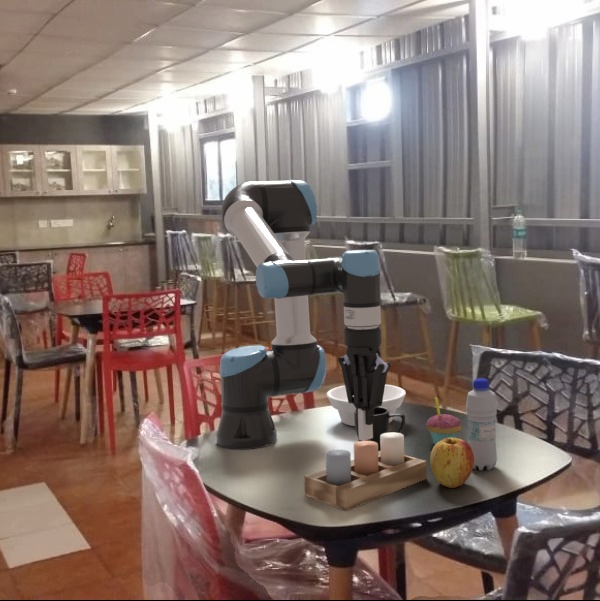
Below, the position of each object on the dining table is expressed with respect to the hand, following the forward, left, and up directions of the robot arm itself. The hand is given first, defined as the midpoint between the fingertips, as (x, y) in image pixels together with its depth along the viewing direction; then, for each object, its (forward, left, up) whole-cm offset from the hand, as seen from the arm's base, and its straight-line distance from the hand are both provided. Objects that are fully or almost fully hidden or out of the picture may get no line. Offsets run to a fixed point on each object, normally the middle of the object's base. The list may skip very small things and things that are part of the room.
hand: (365, 438), depth 170 cm
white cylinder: (0, +8, -7) cm, 11 cm away
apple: (+12, +13, -11) cm, 21 cm away
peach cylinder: (0, 0, -7) cm, 7 cm away
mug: (-15, +20, -11) cm, 27 cm away
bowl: (-34, +35, -11) cm, 50 cm away
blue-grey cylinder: (0, -8, -7) cm, 11 cm away
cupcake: (-7, +34, -11) cm, 36 cm away
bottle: (+10, +26, -11) cm, 30 cm away
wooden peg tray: (0, 0, -10) cm, 10 cm away
